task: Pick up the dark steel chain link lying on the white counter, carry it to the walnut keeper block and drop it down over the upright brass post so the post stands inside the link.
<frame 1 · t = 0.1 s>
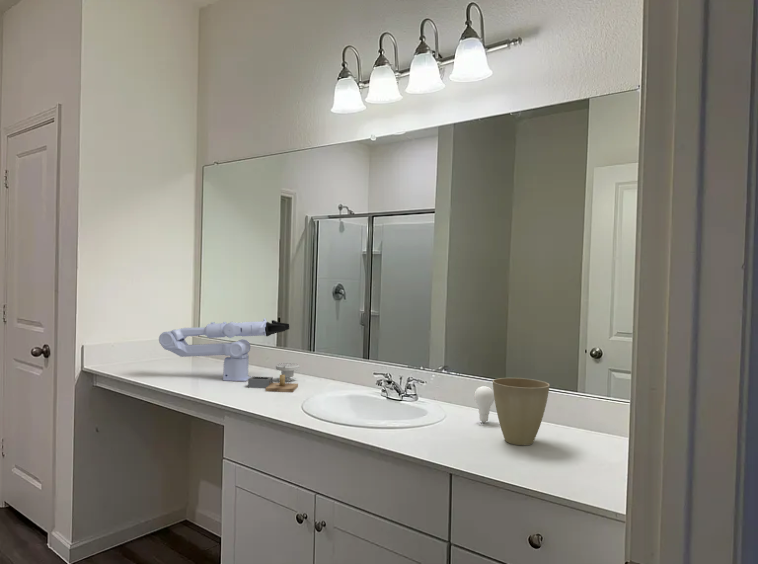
hand: (287, 327, 224), 22 cm above the worktop, fingers open, 7 cm apart
plant pot: (518, 442, 150), on the worktop
showerhead: (287, 381, 224), on the worktop
lightbulb: (483, 423, 169), on the worktop
keeper: (282, 388, 209), on the worktop
link: (260, 386, 213), on the worktop
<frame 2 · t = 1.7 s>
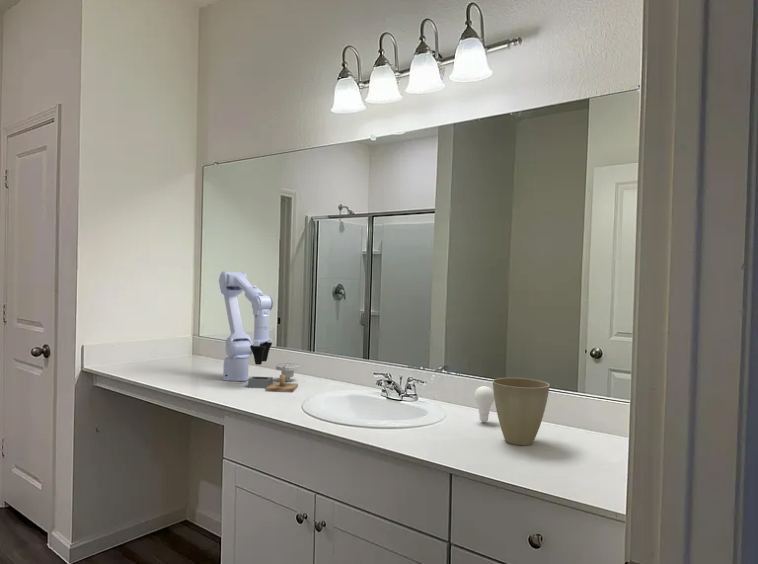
hand: (261, 362, 213), 9 cm above the worktop, fingers open, 7 cm apart
nothing on the worktop moved.
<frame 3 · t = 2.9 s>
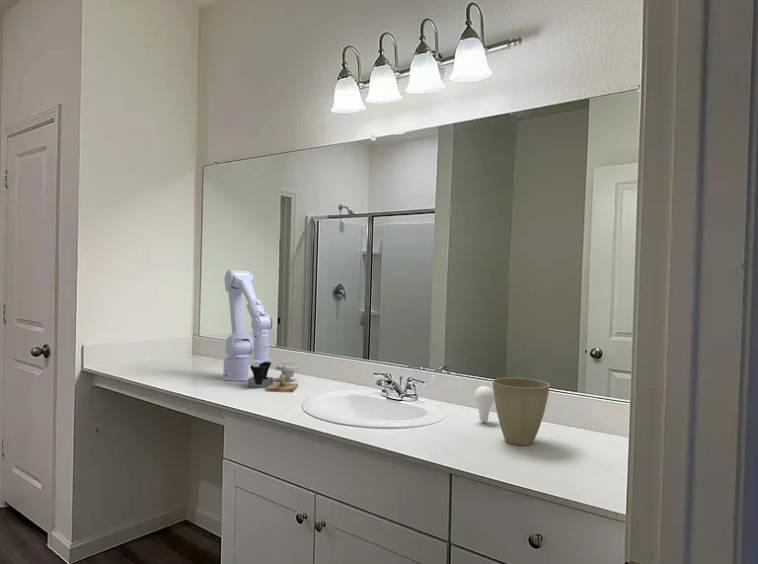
hand: (260, 382, 213), 1 cm above the worktop, fingers closed on link, 5 cm apart
link: (260, 386, 213), on the worktop, touching gripper
everything else where it was.
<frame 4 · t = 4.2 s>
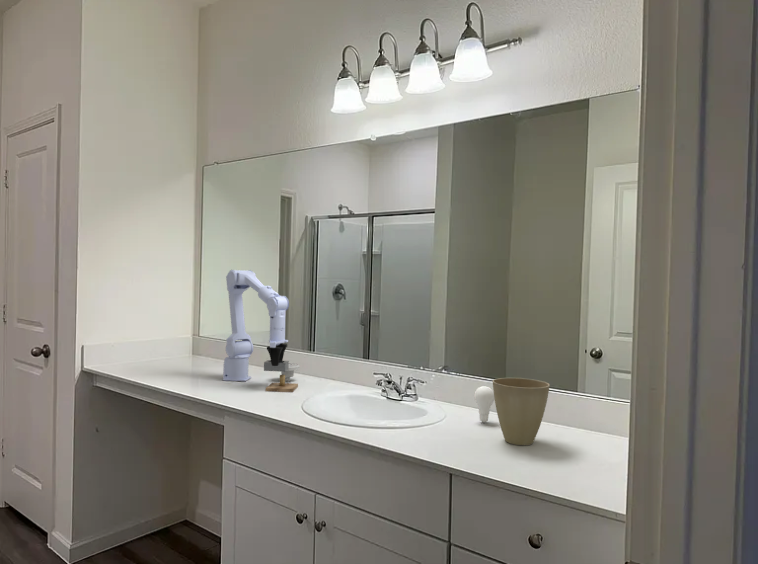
hand: (276, 364, 210), 9 cm above the worktop, fingers closed on link, 5 cm apart
link: (276, 370, 210), point 7 cm above the worktop, touching gripper
everything else where it was.
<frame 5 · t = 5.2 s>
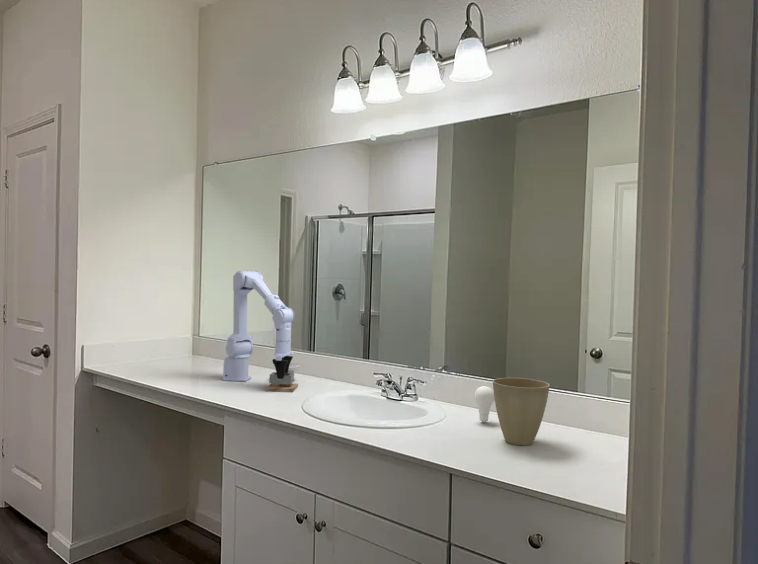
hand: (282, 376, 209), 4 cm above the worktop, fingers closed on link, 5 cm apart
link: (281, 382, 209), point 2 cm above the worktop, touching gripper
everything else where it was.
when the fingers open (4 cm above the worktop, at t = 5.7 s): link drops 1 cm, resting on keeper.
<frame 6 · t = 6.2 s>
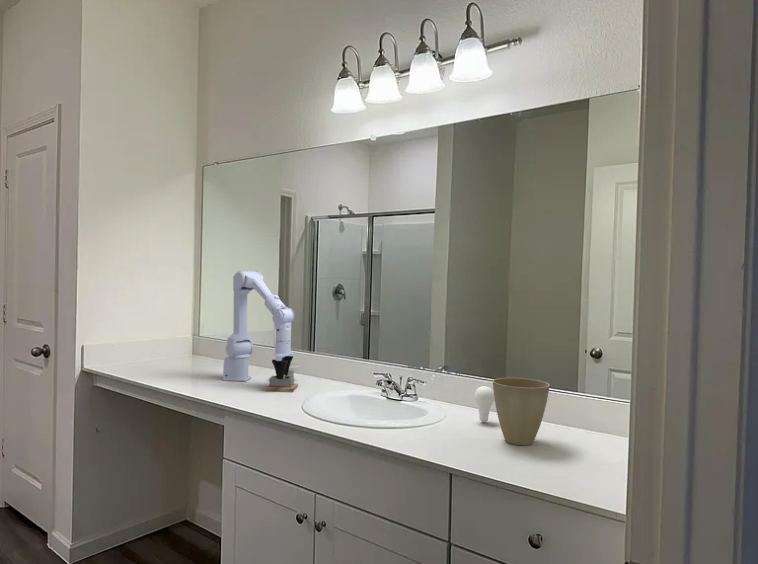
hand: (282, 377, 209), 4 cm above the worktop, fingers open, 7 cm apart
link: (281, 385, 209), point 1 cm above the worktop, touching keeper
everything else where it was.
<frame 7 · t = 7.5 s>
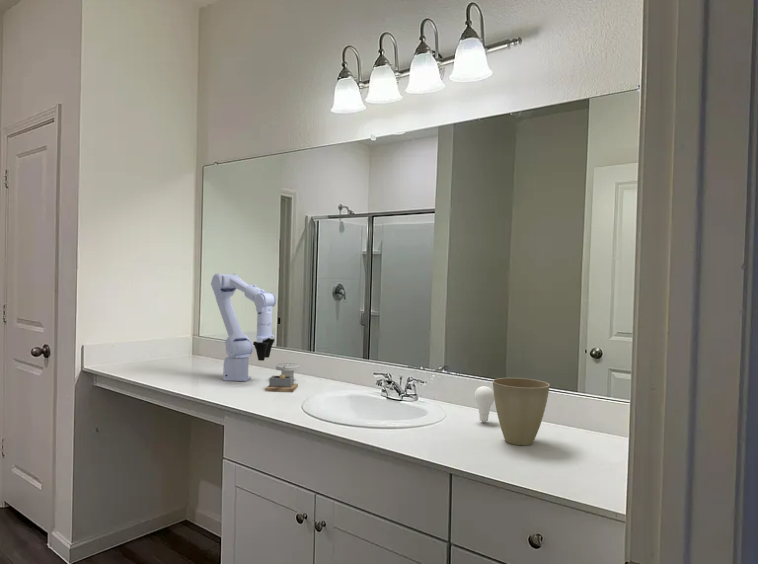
hand: (263, 358, 217), 10 cm above the worktop, fingers open, 7 cm apart
nothing on the worktop moved.
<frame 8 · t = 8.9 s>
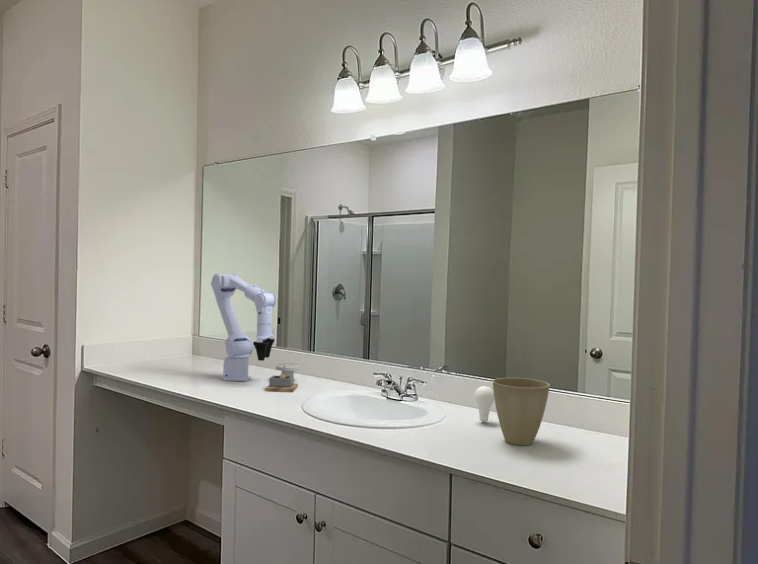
hand: (263, 358, 217), 10 cm above the worktop, fingers open, 7 cm apart
nothing on the worktop moved.
at the end: link 0.2 cm off-centre on the keeper, point 1.2 cm above the keeper's base; the gripper is holding nothing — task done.
